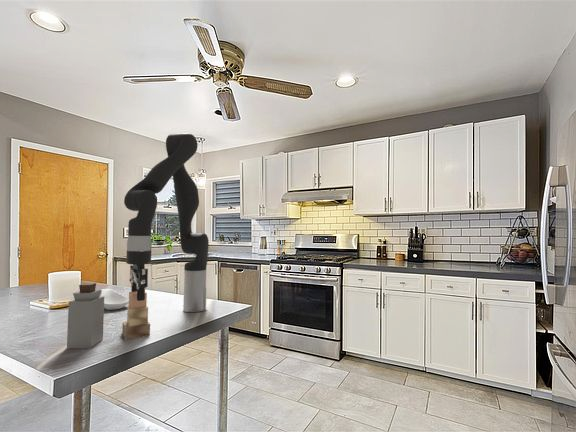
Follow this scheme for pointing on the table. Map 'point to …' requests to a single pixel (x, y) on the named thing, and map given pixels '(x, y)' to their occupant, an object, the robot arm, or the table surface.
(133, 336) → the tower base
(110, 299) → the spoon rest
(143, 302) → the block
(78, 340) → the perfume bottle
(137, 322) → the tower cube
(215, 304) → the table surface
